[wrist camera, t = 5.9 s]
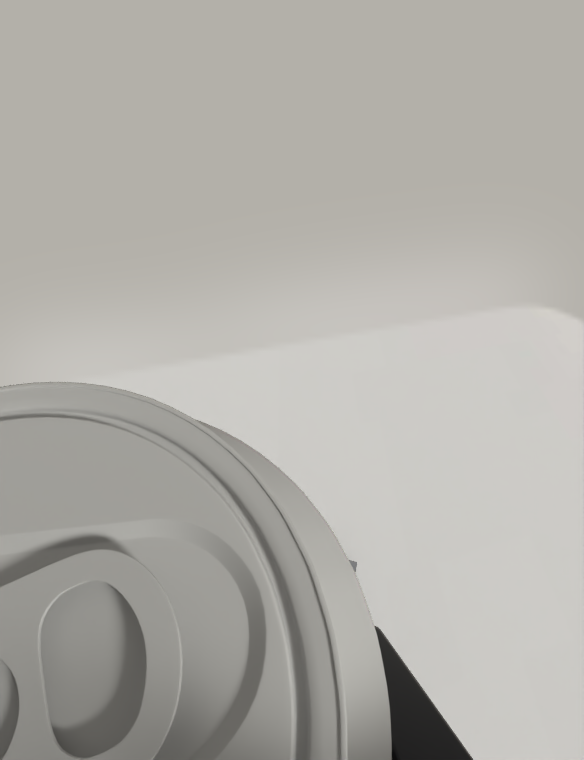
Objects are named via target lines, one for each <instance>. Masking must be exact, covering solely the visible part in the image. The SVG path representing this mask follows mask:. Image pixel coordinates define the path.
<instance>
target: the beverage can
mask: <svg viewBox="0 0 584 760" xmlns="http://www.w3.org/2000/svg"><path fill="white" fill-rule="evenodd" d="M0 760H392V740H391V721H390V706H389V698H388V689H387V683H386V677H385V672H384V667H383V661H382V656H381V650H380V646H379V642H378V637H377V633H376V630H375V627H374V623H373V620H372V617H371V614H370V611H369V608H368V606H367V603H366V600H365V597H364V594H363V591H362V589H361V586H360V583H359V581H358V578H357V576H356V574H355V572H354V570H353V568H352V566H351V564H350V562H349V560H348V558H347V556H346V554H345V552H344V551H343V549H342V547H341V545H340V543H339V542H338V540H337V538H336V536H335V534H334V533H333V531H332V530H331V528H330V526H329V525H328V523H327V522H326V521H325V519H324V518H323V516H322V515H321V514H320V512H319V511H318V510H317V509H316V507H315V506H314V505H313V504H312V502H311V501H310V500H309V499H308V497H307V496H306V495H305V494H304V492H303V491H302V490H301V489H300V488H299V487H298V486H297V485H296V484H295V483H294V482H293V481H292V480H291V479H290V478H289V477H288V476H287V475H286V474H285V473H283V472H282V471H281V470H280V469H279V468H278V467H277V466H275V465H274V464H273V463H272V462H270V461H269V460H268V459H267V458H265V457H264V456H263V455H262V454H260V453H259V452H257V451H256V450H254V449H253V448H251V447H250V446H248V445H247V444H245V443H244V442H242V441H241V440H239V439H237V438H235V437H233V436H231V435H229V434H228V433H226V432H224V431H222V430H220V429H218V428H215V427H213V426H210V425H208V424H206V423H203V422H201V421H198V420H195V419H193V418H191V417H189V416H187V415H186V414H184V413H182V412H180V411H178V410H176V409H174V408H173V407H170V406H168V405H166V404H163V403H161V402H158V401H156V400H154V399H151V398H149V397H145V396H142V395H139V394H136V393H133V392H129V391H126V390H121V389H117V388H112V387H107V386H101V385H94V384H86V383H71V382H41V383H27V384H18V385H10V386H4V387H0Z"/></svg>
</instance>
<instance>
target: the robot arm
mask: <svg viewBox="0 0 584 760" xmlns="http://www.w3.org/2000/svg"><path fill="white" fill-rule="evenodd" d="M374 627H375V630H376V633H377V637H378V642H379V646H380V650H381V656H382V661H383V667H384V672H385V677H386V683H387V689H388V698H389V706H390V721H391V740H392V760H473V758H472V757H471V756H470V754H469V753H468V751H467V750H466V749H465V747H464V746H463V744H462V743H461V742H460V740H459V739H458V737H457V736H456V735H455V733H454V732H453V730H452V729H451V728H450V726H449V725H448V723H447V722H446V721H445V719H444V718H443V716H442V715H441V714H440V712H439V711H438V709H437V708H436V707H435V705H434V704H433V702H432V701H431V700H430V698H429V697H428V695H427V694H426V693H425V691H424V690H423V688H422V687H421V686H420V684H419V683H418V681H417V680H416V679H415V677H414V676H413V674H412V673H411V672H410V670H409V669H408V667H407V666H406V665H405V663H404V662H403V660H402V659H401V658H400V656H399V655H398V653H397V652H396V651H395V649H394V648H393V646H392V645H391V644H390V642H389V641H388V639H387V638H386V637H385V635H384V634H383V632H382V631H381V630H380V629H379V628H378V627H376V626H374Z"/></svg>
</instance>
